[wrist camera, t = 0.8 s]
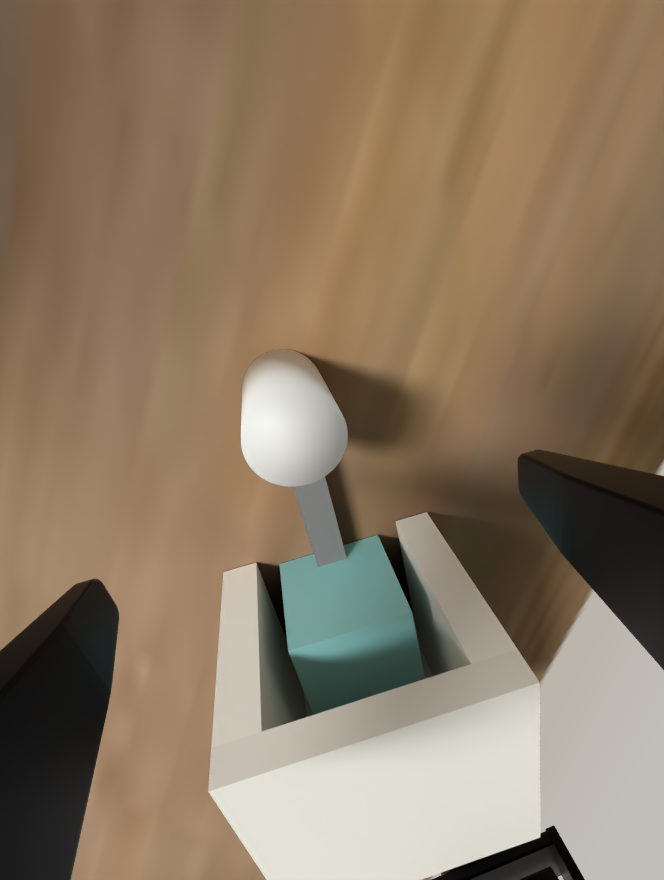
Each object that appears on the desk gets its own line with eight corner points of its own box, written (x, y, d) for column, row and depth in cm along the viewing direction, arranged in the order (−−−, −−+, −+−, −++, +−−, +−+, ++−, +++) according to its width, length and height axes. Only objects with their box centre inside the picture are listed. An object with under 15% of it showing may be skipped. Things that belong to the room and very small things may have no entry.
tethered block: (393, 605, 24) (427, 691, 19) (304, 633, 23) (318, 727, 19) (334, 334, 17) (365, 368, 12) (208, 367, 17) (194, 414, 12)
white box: (447, 652, 26) (540, 843, 18) (282, 704, 25) (299, 928, 17) (426, 512, 21) (539, 682, 13) (223, 572, 21) (208, 791, 12)
